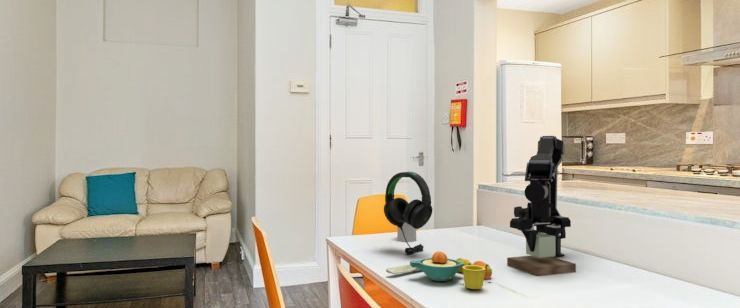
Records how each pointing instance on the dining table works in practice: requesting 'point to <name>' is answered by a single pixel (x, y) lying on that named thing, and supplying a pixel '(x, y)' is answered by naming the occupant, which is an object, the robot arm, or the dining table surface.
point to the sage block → (543, 246)
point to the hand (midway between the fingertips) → (540, 250)
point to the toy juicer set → (448, 269)
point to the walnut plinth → (541, 265)
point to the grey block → (406, 233)
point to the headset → (408, 207)
